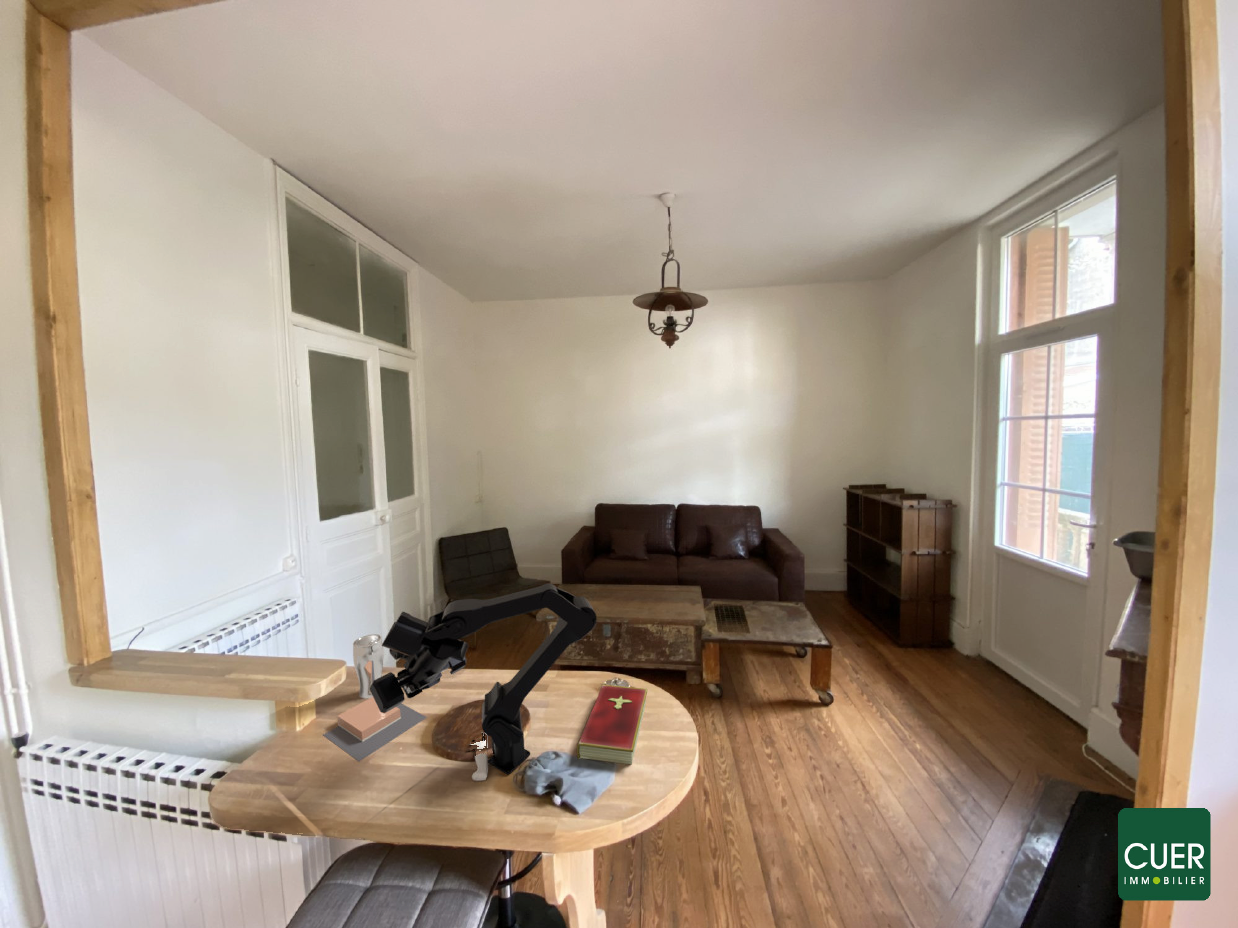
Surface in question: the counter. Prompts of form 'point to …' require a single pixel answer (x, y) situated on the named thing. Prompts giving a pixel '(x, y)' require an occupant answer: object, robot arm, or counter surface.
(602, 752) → the hardcover book
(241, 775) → the counter surface
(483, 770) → the knife
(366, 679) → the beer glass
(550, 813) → the counter surface
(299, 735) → the counter surface
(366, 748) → the mat
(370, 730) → the tile
